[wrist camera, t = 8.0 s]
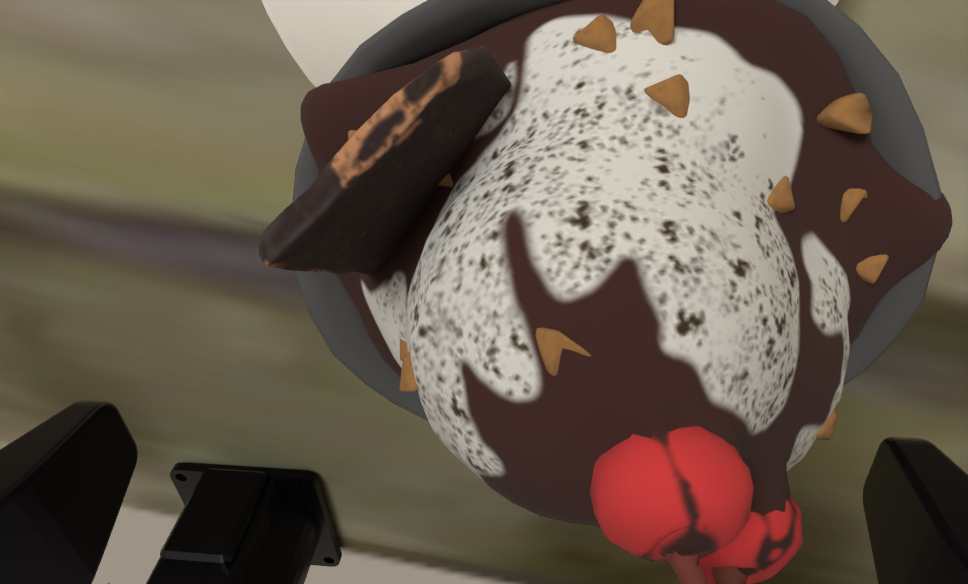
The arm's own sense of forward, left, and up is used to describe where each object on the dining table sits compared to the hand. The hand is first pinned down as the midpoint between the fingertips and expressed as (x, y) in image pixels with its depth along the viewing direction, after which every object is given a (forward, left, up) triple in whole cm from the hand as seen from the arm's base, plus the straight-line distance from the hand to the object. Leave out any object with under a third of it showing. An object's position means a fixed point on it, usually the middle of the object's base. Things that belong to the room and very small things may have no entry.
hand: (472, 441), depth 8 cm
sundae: (+2, -1, -11) cm, 11 cm away
